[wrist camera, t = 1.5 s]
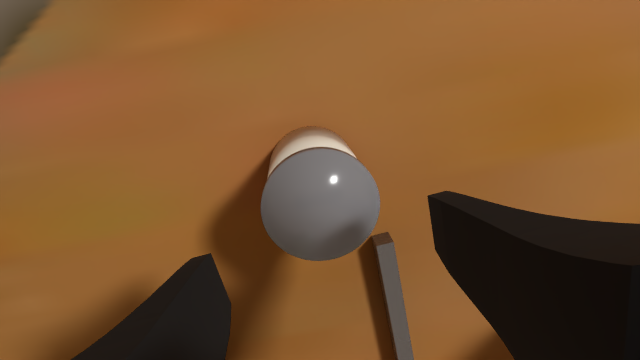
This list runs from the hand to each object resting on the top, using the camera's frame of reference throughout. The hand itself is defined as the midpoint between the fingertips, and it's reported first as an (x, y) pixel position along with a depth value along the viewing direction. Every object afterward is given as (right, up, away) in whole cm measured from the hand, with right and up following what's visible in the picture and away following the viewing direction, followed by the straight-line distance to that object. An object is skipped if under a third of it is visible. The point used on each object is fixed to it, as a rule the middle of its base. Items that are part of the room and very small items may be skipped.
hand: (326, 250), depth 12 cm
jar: (-1, +3, +8) cm, 9 cm away
